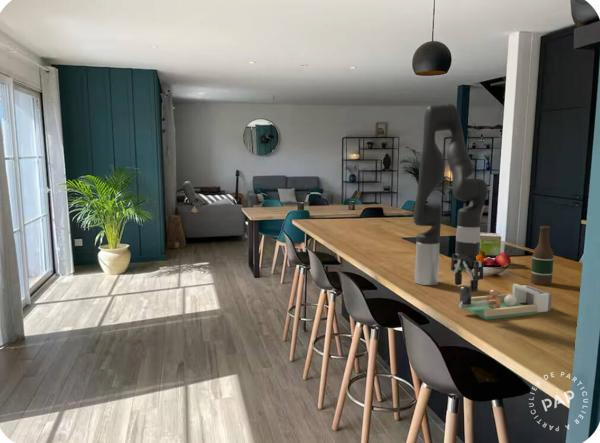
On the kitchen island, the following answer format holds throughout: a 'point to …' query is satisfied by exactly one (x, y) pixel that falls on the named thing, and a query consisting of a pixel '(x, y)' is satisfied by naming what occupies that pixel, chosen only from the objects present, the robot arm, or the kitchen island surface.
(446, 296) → the kitchen island surface
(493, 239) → the tea box
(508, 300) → the ball
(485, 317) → the pitch
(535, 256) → the beer bottle
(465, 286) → the striker
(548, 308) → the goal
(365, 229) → the kitchen island surface
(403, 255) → the kitchen island surface
